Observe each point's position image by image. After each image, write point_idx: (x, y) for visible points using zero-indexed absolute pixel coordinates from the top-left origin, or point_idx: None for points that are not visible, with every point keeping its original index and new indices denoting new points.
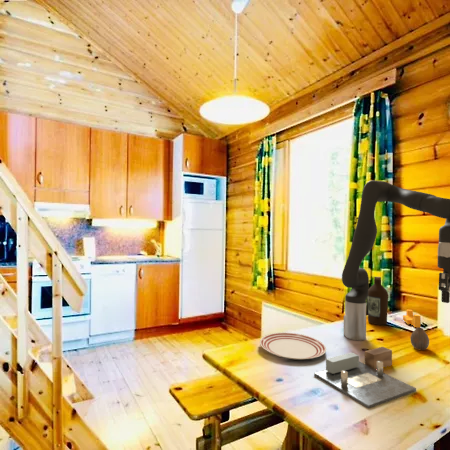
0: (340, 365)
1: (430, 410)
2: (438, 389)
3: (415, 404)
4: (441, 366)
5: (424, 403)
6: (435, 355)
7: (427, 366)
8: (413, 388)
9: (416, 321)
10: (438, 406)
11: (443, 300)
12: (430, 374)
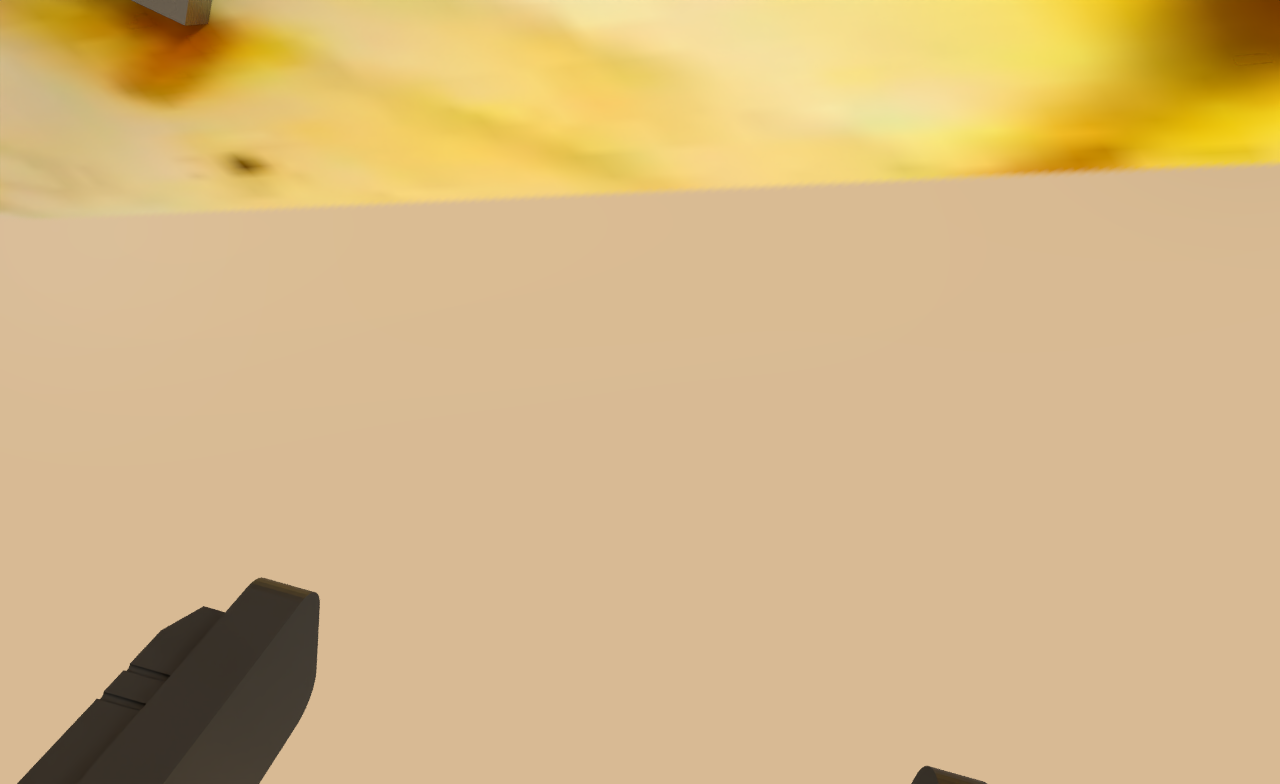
0: None
1: (62, 139)
2: (395, 159)
3: (49, 46)
4: (907, 148)
5: (113, 96)
6: (1227, 71)
7: (825, 33)
8: (162, 9)
9: None
10: (151, 176)
11: (194, 637)
12: (642, 79)
